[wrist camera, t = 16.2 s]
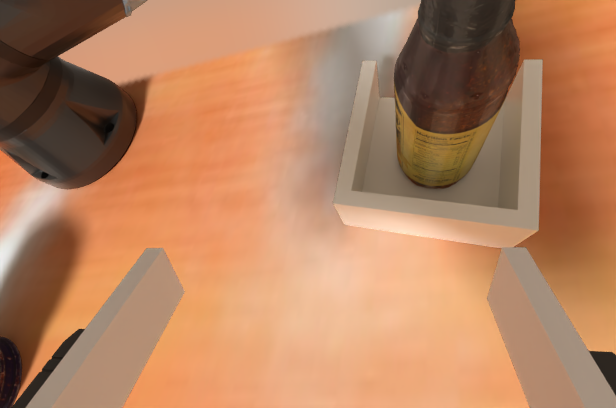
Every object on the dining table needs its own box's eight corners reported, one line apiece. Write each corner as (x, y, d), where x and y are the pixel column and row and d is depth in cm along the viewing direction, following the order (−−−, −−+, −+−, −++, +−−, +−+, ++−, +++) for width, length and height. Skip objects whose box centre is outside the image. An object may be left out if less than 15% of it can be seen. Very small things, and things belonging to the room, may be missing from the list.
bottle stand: (509, 249, 26) (538, 230, 21) (344, 224, 30) (332, 203, 25) (516, 107, 30) (542, 59, 24) (368, 102, 34) (362, 60, 28)
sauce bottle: (419, 120, 31) (450, -173, 12) (485, 147, 28) (645, -166, 10) (381, 176, 30) (357, -52, 12) (447, 209, 27) (546, -11, 9)
